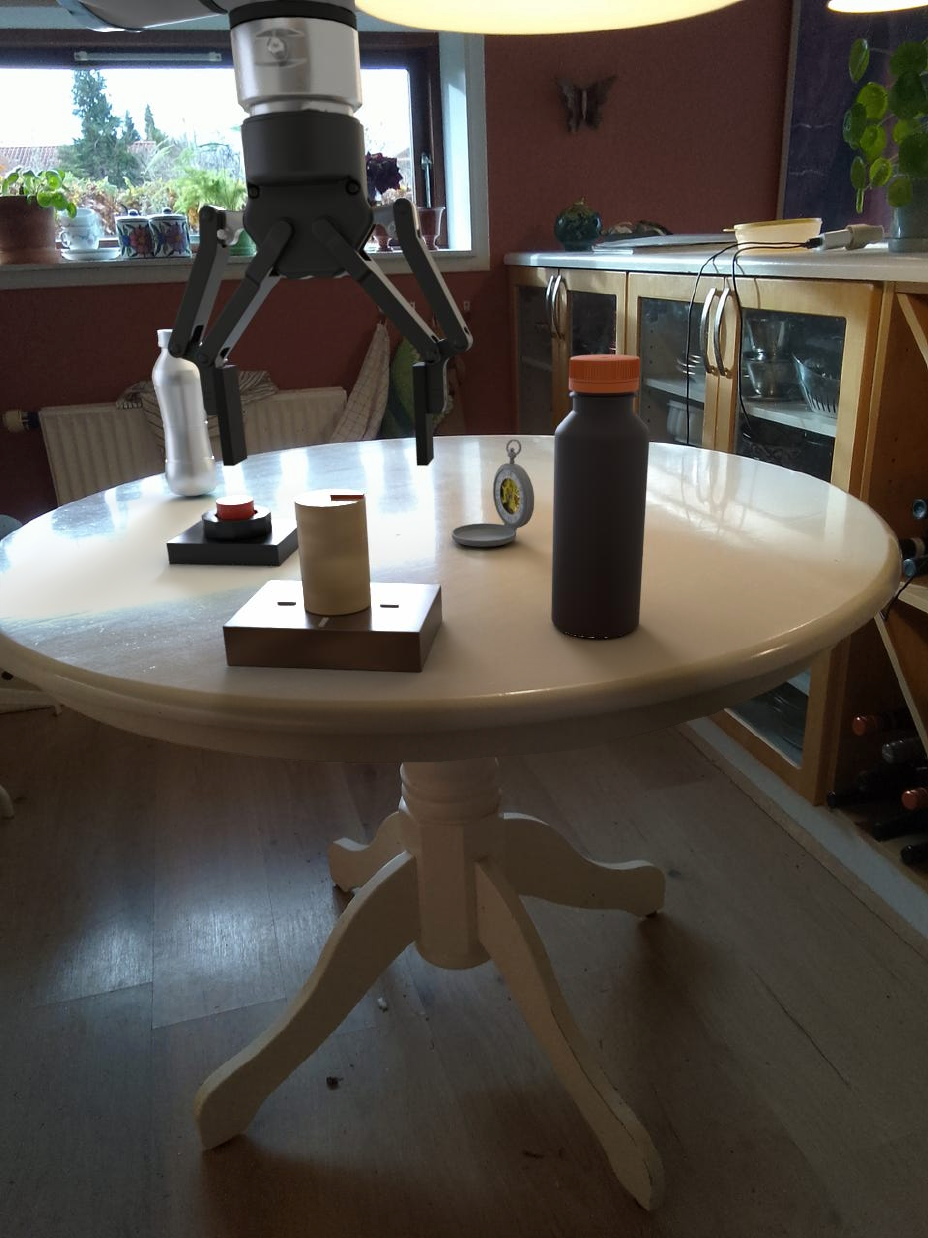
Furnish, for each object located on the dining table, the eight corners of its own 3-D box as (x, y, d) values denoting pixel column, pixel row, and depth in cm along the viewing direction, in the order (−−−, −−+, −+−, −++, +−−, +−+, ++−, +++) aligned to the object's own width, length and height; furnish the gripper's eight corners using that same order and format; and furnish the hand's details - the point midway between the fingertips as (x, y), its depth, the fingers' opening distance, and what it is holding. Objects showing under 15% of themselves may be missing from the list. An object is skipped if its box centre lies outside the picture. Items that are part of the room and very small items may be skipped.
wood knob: (295, 614, 64) (284, 501, 61) (314, 591, 69) (305, 484, 66) (363, 616, 63) (355, 502, 60) (378, 593, 68) (371, 485, 65)
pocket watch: (440, 545, 90) (437, 446, 86) (476, 525, 97) (474, 432, 93) (515, 555, 87) (515, 452, 83) (546, 533, 94) (548, 437, 90)
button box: (169, 564, 86) (163, 524, 84) (205, 538, 94) (201, 501, 93) (279, 567, 85) (275, 526, 83) (306, 540, 93) (303, 502, 91)
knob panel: (226, 665, 63) (221, 624, 62) (272, 615, 73) (268, 578, 71) (421, 672, 62) (419, 630, 60) (442, 620, 71) (441, 582, 70)
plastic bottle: (168, 503, 109) (144, 332, 102) (167, 491, 115) (144, 329, 108) (222, 498, 111) (202, 330, 104) (218, 487, 117) (199, 327, 110)
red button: (212, 521, 87) (209, 504, 86) (225, 512, 90) (223, 495, 89) (247, 522, 86) (245, 504, 86) (260, 512, 90) (258, 495, 89)
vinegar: (541, 634, 67) (545, 361, 60) (562, 605, 73) (568, 352, 66) (630, 645, 65) (646, 362, 58) (645, 613, 71) (661, 353, 64)
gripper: (78, 116, 53) (135, 473, 60) (499, 93, 49) (503, 473, 57) (137, 134, 60) (181, 452, 67) (509, 115, 56) (511, 451, 64)
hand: (329, 462), depth 62 cm, fingers open, 13 cm apart
